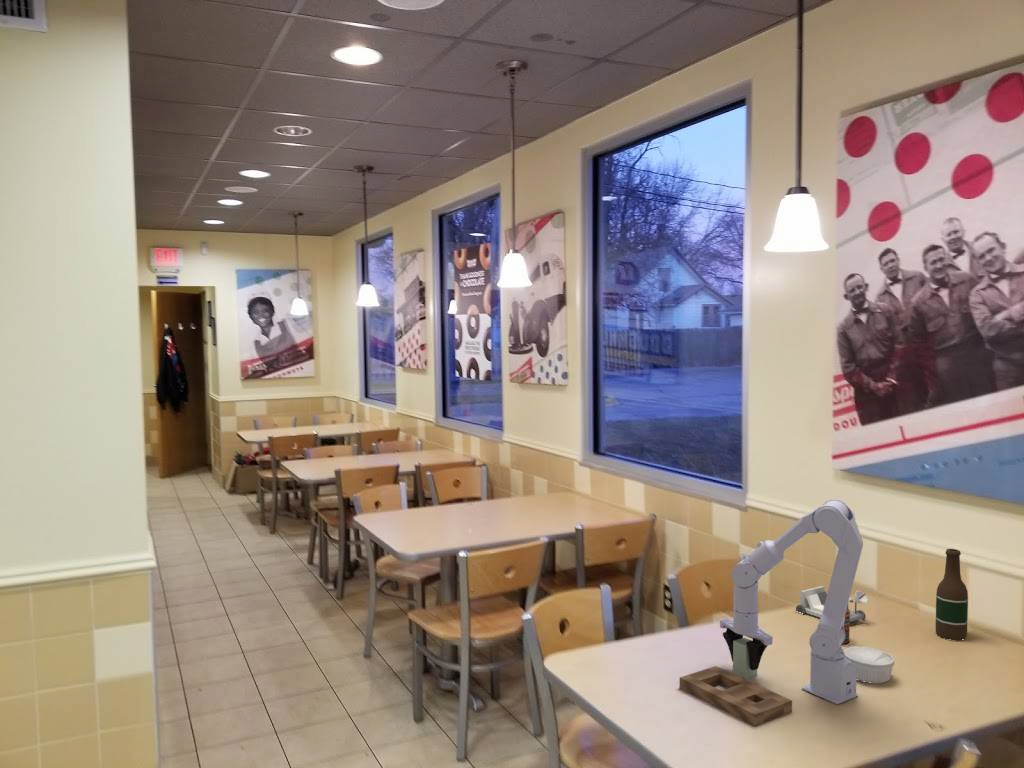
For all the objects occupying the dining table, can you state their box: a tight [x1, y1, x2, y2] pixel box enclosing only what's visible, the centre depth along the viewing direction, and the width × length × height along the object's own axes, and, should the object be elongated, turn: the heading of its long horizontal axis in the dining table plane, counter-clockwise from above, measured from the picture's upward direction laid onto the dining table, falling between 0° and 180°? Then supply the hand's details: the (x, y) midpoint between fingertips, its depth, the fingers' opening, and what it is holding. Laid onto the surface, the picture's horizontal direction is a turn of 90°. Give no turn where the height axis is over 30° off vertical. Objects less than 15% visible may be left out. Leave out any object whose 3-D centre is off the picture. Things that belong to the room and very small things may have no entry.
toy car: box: [795, 585, 869, 623], centre depth 229 cm, size 18×10×12 cm
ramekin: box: [843, 646, 895, 684], centre depth 189 cm, size 11×11×5 cm
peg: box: [732, 637, 758, 680], centre depth 190 cm, size 4×4×8 cm
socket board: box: [679, 665, 793, 727], centre depth 176 cm, size 22×12×2 cm, turn 33°
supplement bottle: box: [841, 607, 851, 645], centre depth 211 cm, size 6×6×11 cm
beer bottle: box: [935, 548, 969, 641], centre depth 214 cm, size 8×8×24 cm
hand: (745, 665), depth 190 cm, fingers open, 5 cm apart
